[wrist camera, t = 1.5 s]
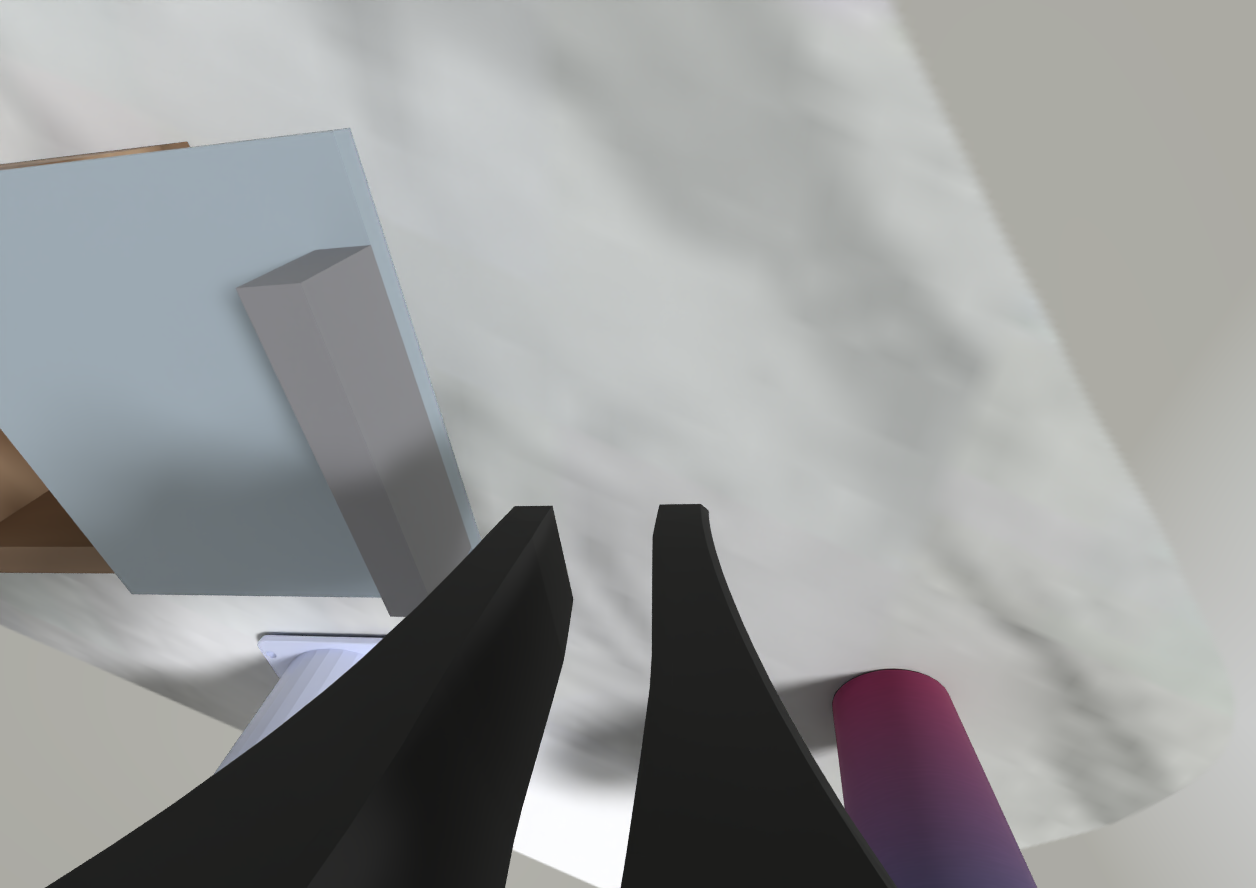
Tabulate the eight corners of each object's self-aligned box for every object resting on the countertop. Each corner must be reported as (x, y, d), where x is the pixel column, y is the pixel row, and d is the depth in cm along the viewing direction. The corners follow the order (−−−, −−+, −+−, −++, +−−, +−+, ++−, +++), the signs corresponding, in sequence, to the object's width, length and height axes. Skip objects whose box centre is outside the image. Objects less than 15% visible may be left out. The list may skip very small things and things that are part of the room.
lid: (494, 583, 17) (459, 671, 15) (146, 580, 19) (62, 657, 17) (349, 128, 11) (244, 146, 8) (-152, 188, 13) (-358, 218, 10)
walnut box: (341, 481, 23) (261, 574, 19) (83, 486, 25) (-42, 572, 21) (187, 141, 17) (13, 167, 12) (-145, 182, 18) (-393, 216, 14)
